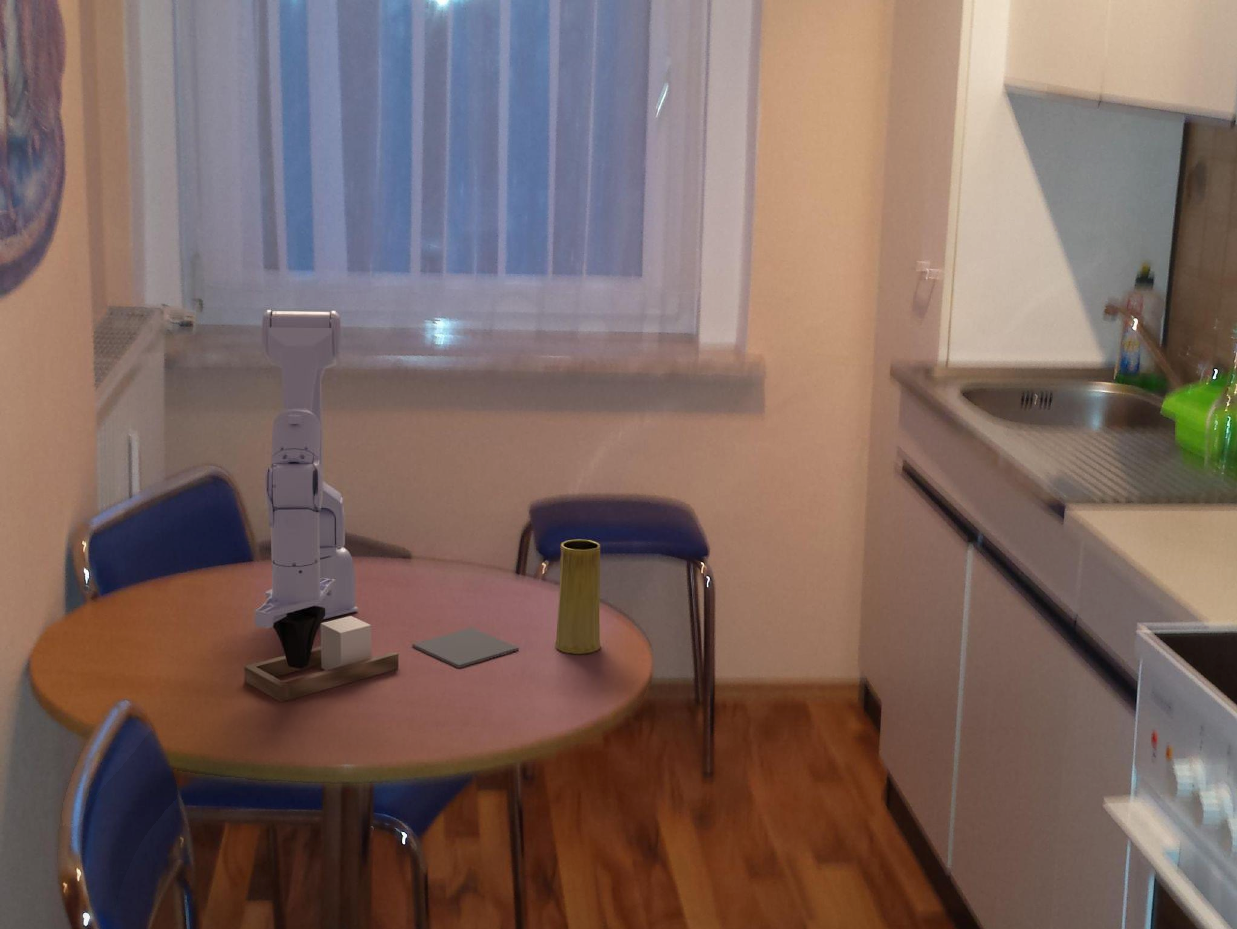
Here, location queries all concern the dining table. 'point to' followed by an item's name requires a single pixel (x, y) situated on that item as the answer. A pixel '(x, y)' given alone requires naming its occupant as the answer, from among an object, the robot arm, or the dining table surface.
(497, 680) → the dining table surface
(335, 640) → the white block
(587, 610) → the vase
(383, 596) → the dining table surface
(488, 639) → the slate mat
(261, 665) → the walnut channel
